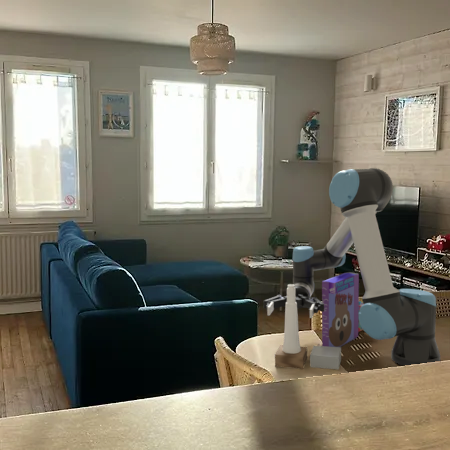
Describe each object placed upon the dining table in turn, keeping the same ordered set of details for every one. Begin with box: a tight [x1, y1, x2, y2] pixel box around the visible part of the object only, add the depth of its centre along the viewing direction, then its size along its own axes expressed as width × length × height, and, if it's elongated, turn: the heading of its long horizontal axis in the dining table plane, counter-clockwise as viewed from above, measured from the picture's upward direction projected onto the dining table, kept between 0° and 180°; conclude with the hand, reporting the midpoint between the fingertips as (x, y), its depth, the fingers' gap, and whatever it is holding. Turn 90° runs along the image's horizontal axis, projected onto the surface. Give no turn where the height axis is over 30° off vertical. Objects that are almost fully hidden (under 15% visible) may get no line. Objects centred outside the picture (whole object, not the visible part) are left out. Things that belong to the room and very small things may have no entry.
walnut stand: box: [274, 344, 308, 370], centre depth 184 cm, size 9×9×4 cm
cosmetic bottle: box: [282, 283, 301, 354], centre depth 183 cm, size 6×6×22 cm
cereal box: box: [321, 271, 360, 348], centre depth 201 cm, size 17×5×24 cm, turn 139°
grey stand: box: [309, 345, 342, 370], centre depth 183 cm, size 9×9×4 cm
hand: (289, 312), depth 180 cm, fingers open, 13 cm apart
